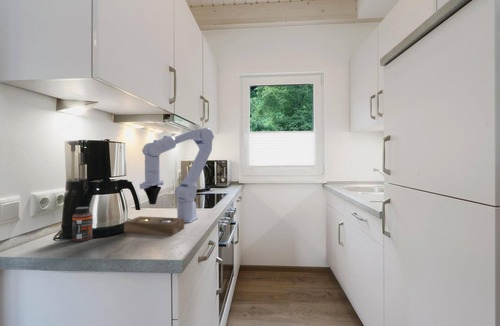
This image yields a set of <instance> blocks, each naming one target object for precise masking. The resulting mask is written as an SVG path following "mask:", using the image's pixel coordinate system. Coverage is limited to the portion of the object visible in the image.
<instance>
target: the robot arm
mask: <svg viewBox="0 0 500 326" xmlns="http://www.w3.org/2000/svg"><path fill="white" fill-rule="evenodd" d="M214 138H215V136H214V133H213V130H212V129H211V128H210V127H204V128H196V129H191V130H188V131H185V132H183V133H181V134H178V135H175V136H171V135H167V134H166V135H164V136H163V137H162V138H160V139H154V140H153V141H152V142H147V143H145V144H144V146H143V147H142V149H141V151H142V154H143V155H144V181H142V182H141V183H139V190H140V189H141V190H143V191H144V192H145V195H146V196H147V199H148V203H149V205H156V204H157V200H158V196H159V193H160V191H161V189H162V186H164V184H165V183H164V180H160V179H161V176H160V174H161V173H160V171H161V170H160V169H161V168H160V156H161V154H163V153H165V152H168V151H170V150H174V149H175V148H176V147H177V144H180V143H183V142H186V141H189V140H193V142H194V143H195V144H196V145H197V147H198V149H199V150H198V152H197V154H196V157H195V159H194V160H193V162H192V165H191V166H190V168H189V171H188V172H187V175H186V176H185V178H184V179H183V180H182V181H181V182H180V183H179V184H178V186H177V187H175V190H174V196H175V198H176V204H177V205H176V213H177V214H176V215H177V216H176V218H184V223H192V222H194V221H196V220H197V219H199V216H197V203H196V202H195V201H194V200H195V199H196V197H197V190H198V184H197V182H198V181H199V179H200V176H201V174H202V172H203V169H204V168H205V166H206V163H208V159H209V158H210V157H209V156H210V155H211V153H212V149H213V140H214Z"/></svg>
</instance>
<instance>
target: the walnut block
mask: <svg viewBox="0 0 500 326" xmlns="http://www.w3.org/2000/svg"><path fill="white" fill-rule="evenodd" d="M140 219H149V220H148V221H138V220H140ZM163 220H172V221H171V222H169V223H166V222H161V221H163ZM183 229H185V222H184V218H177V217H164V216H163V217H161V216H160V217H158V216H143V215H142V216H137V217H134V218H132V219H130V220H125V221H124V222H123V233H125V234H139V235H140V234H141V235H154V236H155V235H157V236H158V235H159V236H174V235H175V234H177V233H179V232H181V231H182V230H183Z"/></svg>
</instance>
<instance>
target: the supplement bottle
mask: <svg viewBox="0 0 500 326" xmlns="http://www.w3.org/2000/svg"><path fill="white" fill-rule="evenodd" d="M71 219H72V226H71V227H72V229H71V230H72V235H71V236H72V241H73V242H85V241H88V240H91V239H92V238H93V214H92V212H90V207H89V206H78V207H76V208H75V213H74V214H72V218H71Z"/></svg>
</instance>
